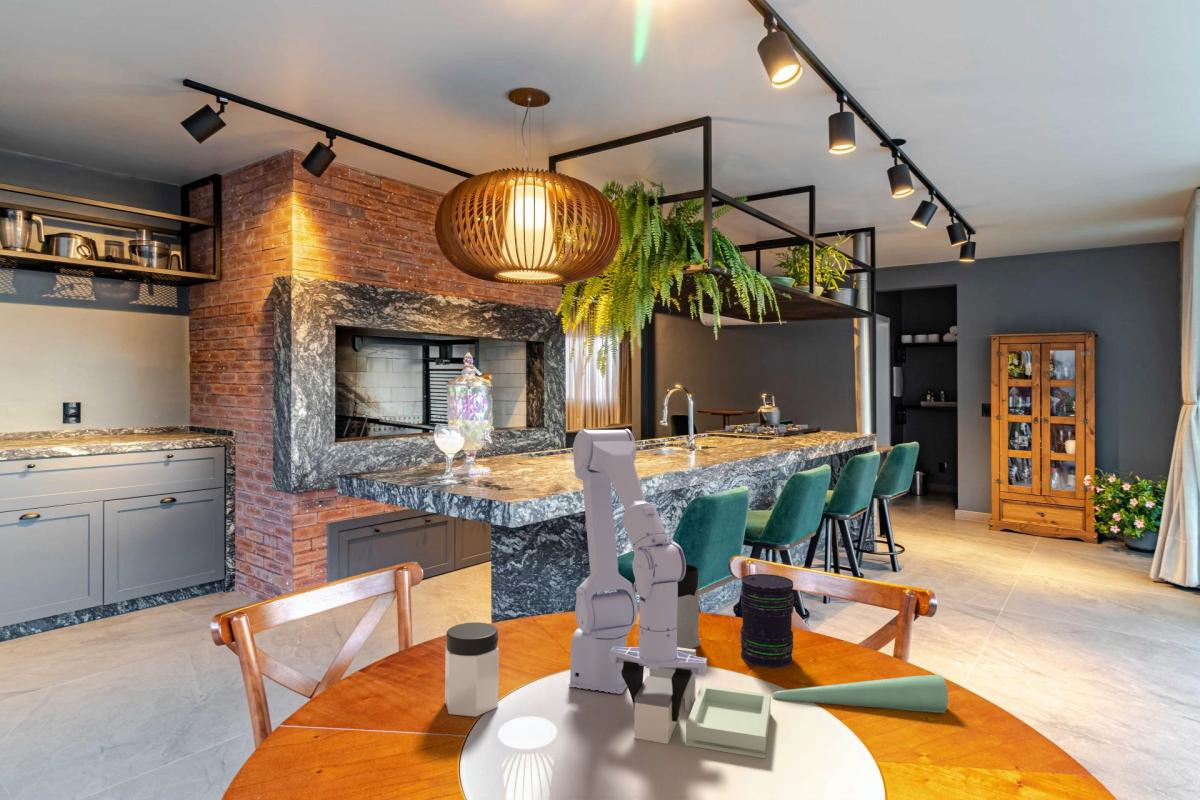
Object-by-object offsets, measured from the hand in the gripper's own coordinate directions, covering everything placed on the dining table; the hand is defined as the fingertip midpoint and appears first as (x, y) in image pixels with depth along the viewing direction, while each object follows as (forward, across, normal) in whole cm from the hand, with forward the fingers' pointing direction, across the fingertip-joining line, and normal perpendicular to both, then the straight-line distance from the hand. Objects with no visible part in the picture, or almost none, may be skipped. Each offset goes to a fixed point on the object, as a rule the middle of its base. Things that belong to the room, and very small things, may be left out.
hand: (656, 715), depth 100 cm
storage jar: (+2, +14, +34) cm, 37 cm away
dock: (+2, 0, +10) cm, 10 cm away
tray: (+2, +10, +4) cm, 11 cm away
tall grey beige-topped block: (+2, 0, 0) cm, 2 cm away
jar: (+2, -30, -2) cm, 30 cm away
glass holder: (+2, -6, +36) cm, 37 cm away
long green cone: (+2, +29, +19) cm, 35 cm away
